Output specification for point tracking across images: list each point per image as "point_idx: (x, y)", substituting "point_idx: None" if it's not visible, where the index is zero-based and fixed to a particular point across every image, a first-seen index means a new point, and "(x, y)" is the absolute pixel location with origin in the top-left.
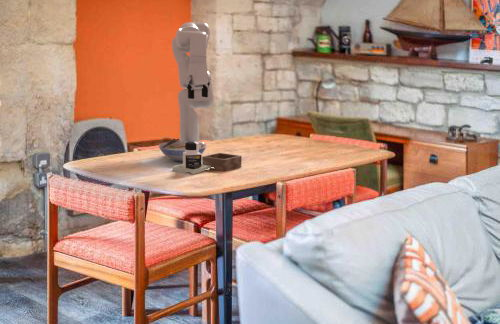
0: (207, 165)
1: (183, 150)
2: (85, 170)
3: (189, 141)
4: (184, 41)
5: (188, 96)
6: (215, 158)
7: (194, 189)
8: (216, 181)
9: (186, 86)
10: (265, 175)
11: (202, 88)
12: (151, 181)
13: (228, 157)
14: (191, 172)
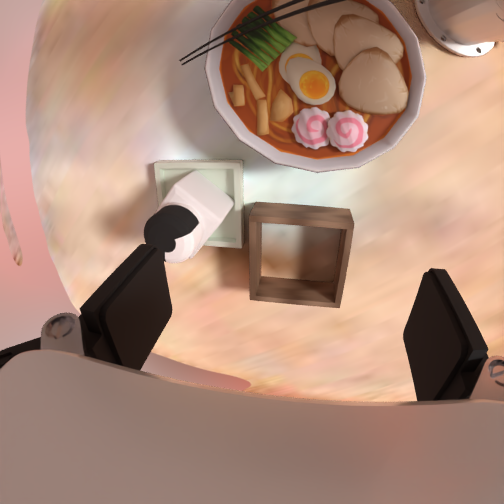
0: (237, 238)
1: (237, 131)
2: (40, 19)
3: (168, 224)
4: None
5: (133, 260)
6: (249, 269)
7: None
8: None
9: (12, 353)
10: (274, 365)
11: (470, 354)
12: (61, 211)
13: (340, 259)
14: None
